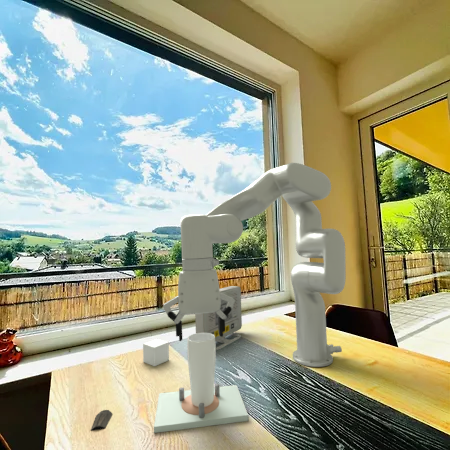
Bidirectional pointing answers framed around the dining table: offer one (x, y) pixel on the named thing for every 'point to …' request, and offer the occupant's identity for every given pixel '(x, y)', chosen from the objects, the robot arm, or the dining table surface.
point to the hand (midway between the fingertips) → (201, 336)
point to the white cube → (155, 352)
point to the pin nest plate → (199, 409)
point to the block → (101, 420)
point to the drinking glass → (201, 367)
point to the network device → (232, 320)
